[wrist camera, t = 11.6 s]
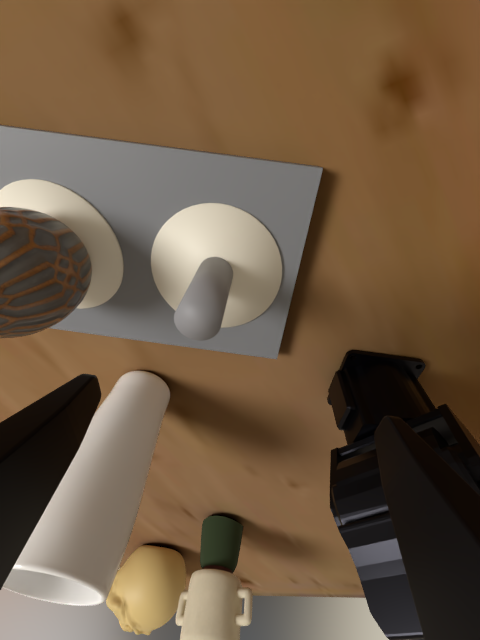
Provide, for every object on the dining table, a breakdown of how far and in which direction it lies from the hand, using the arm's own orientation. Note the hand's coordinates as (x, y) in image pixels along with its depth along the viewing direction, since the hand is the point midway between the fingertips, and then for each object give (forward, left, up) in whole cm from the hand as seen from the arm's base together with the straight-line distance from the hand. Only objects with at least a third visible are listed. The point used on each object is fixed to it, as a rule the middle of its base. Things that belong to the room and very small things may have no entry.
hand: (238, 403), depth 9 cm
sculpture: (+10, +60, -13) cm, 62 cm away
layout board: (+8, +1, -13) cm, 15 cm away
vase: (+13, +1, -12) cm, 18 cm away
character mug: (-1, +43, -13) cm, 45 cm away
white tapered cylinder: (+9, +15, -13) cm, 22 cm away
